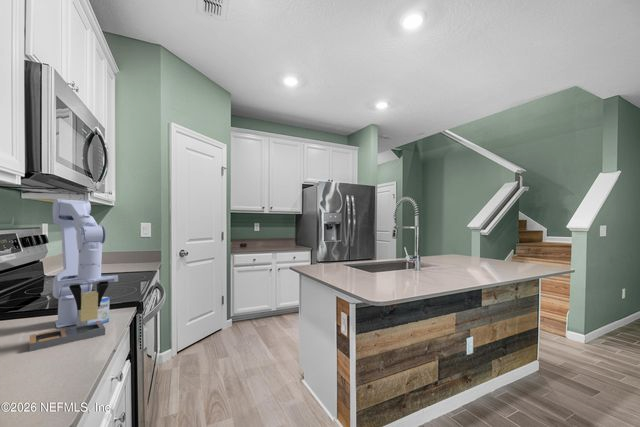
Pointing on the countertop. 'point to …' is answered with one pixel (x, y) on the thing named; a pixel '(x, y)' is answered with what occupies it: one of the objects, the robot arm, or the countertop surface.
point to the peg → (88, 306)
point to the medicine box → (102, 313)
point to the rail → (65, 336)
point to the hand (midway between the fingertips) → (88, 307)
